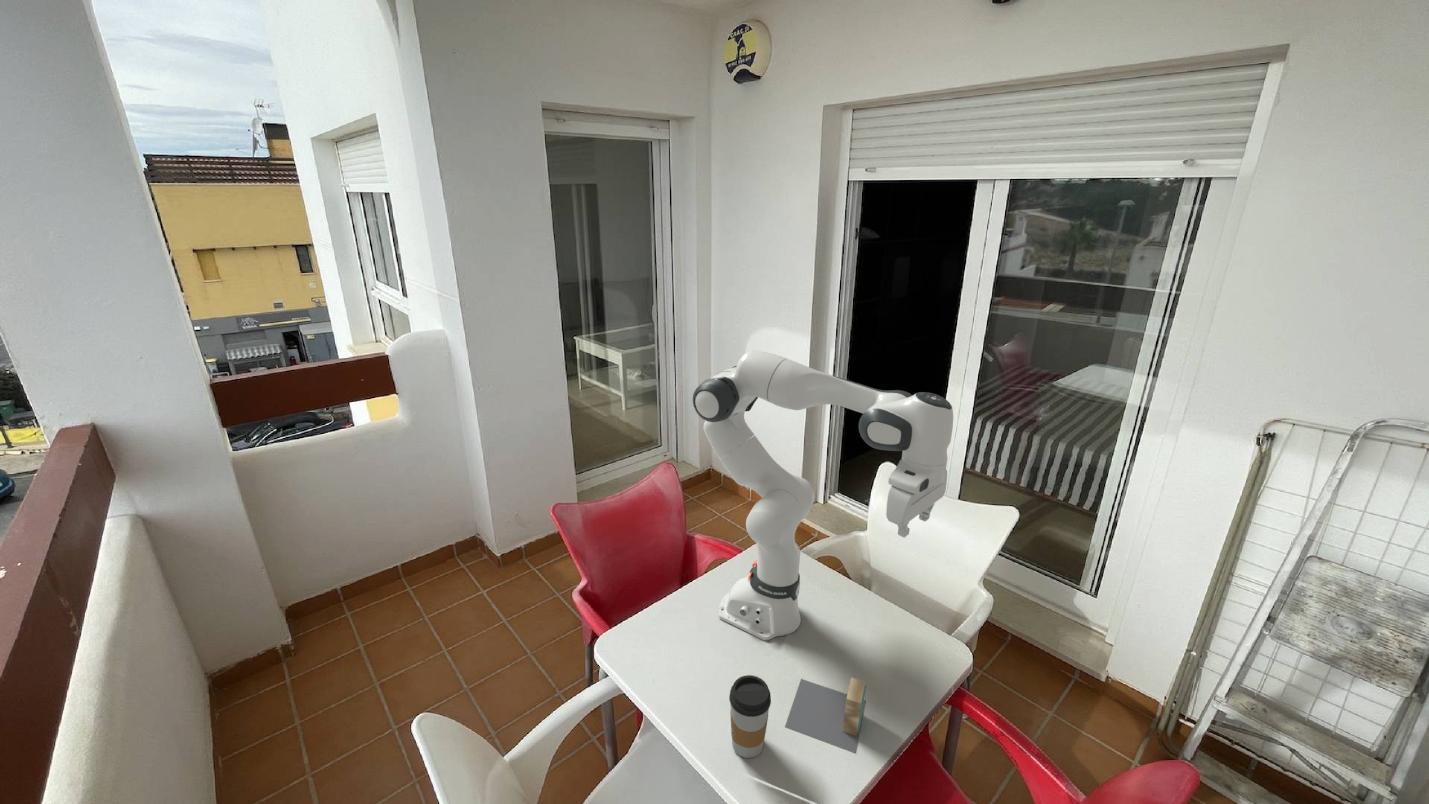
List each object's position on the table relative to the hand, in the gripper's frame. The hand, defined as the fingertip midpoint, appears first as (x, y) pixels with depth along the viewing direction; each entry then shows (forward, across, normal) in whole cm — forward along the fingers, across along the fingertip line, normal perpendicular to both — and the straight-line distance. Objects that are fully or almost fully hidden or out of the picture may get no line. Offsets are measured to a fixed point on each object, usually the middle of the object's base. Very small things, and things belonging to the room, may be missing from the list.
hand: (913, 527), depth 118 cm
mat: (+40, +21, -4) cm, 46 cm away
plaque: (+40, +19, +1) cm, 44 cm away
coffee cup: (+41, +40, -11) cm, 58 cm away
